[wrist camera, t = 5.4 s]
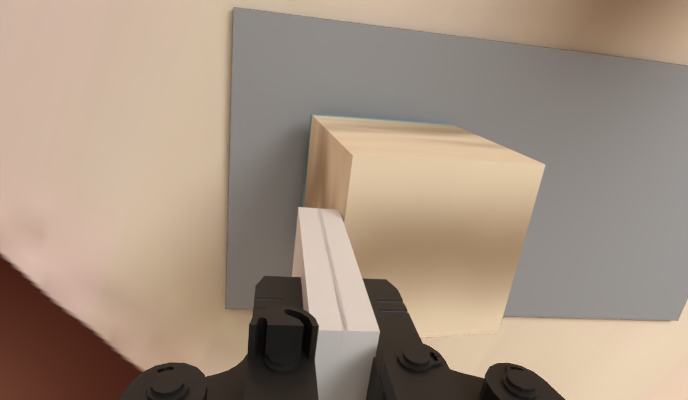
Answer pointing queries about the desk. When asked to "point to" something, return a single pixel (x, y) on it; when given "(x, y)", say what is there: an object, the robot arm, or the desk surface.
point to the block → (427, 213)
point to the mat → (485, 121)
